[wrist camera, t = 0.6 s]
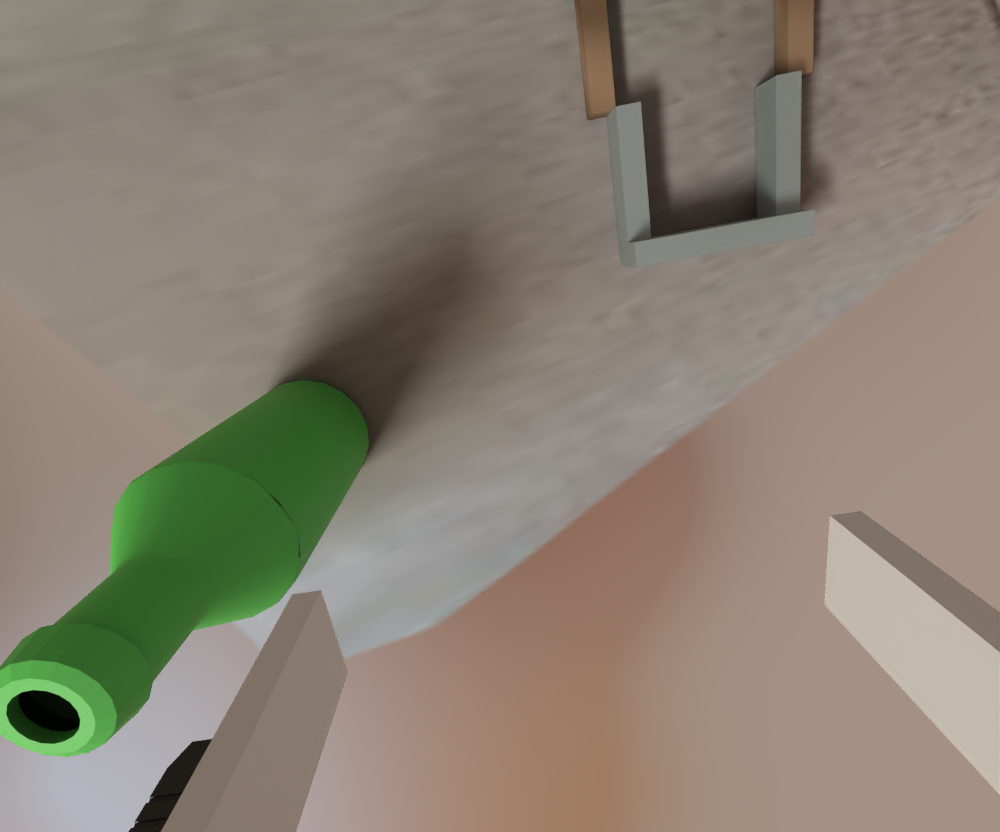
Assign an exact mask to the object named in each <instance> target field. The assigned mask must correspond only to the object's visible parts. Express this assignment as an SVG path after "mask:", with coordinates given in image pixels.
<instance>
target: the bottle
mask: <svg viewBox="0 0 1000 832" xmlns="http://www.w3.org/2000/svg"><path fill="white" fill-rule="evenodd" d="M368 447H369V438H368V429H367V424H366V422H365V420H364V418H363V416H362V414H361V412H360V410H359V408H358V407H357V406H356V405H355V404H354V403H353V402H352V401H351V400H350V399H349V398H348V397H347V396H346V395H345V394H344V393H343V392H341V391H339V390H337V389H335V388H333V387H331V386H329V385H327V384H325V383H321V382H314V381H308V380H298V381H294V382H289V383H284V384H281V385H279V386H278V387H276V388H275V389H273V390H272V391H270V392H268V393H267V394H265V395H264V396H262V397H261V398H259V399H258V400H256V401H255V402H253V403H251V404H250V405H248V406H247V407H245V408H244V409H242V410H241V411H239V412H237V413H236V414H234V415H233V416H231V417H230V418H228V419H227V420H225V421H224V422H222V423H220V424H219V425H217V426H216V427H214V428H213V429H211V430H210V431H208V432H207V433H205V434H204V435H202V436H200V437H199V438H197V439H196V440H194V441H193V442H191V443H190V444H188V445H187V446H185V447H184V448H182V449H181V450H179V451H178V452H176V453H175V454H173V455H171V456H170V457H168V458H167V459H165V460H164V461H162V462H161V463H159V464H158V465H156V466H155V467H153V468H152V469H150V470H149V471H147V472H145V473H144V474H142V475H141V476H139V477H138V478H136V479H135V480H133V481H132V482H131V483H130V484H129V486H128V487H127V489H126V490H125V492H124V494H123V495H122V497H121V498H120V500H119V502H118V503H117V504H116V506H115V509H114V518H113V526H112V535H111V558H110V576H109V577H108V578H106V579H105V580H104V581H103V582H102V583H101V584H100V585H98V586H97V587H96V588H95V589H94V590H93V591H91V592H90V593H89V594H88V595H87V596H86V597H85V598H83V599H82V600H81V601H80V602H79V603H78V604H77V605H75V606H74V607H73V608H72V609H71V610H70V611H68V612H67V613H66V614H65V615H64V616H63V617H62V618H60V619H59V620H58V621H57V622H56V623H55V624H54V625H50V626H46V627H41V628H39V629H38V630H36V631H35V632H33V633H31V634H30V635H28V636H27V637H25V638H24V639H22V641H21V642H20V643H19V644H18V646H17V647H16V648H15V649H14V651H13V652H12V653H11V654H10V655H9V657H8V658H7V659H6V660H5V661H4V663H3V664H2V665H1V666H0V734H1V735H2V736H3V737H4V738H6V739H8V740H10V741H11V742H13V743H15V744H17V745H18V746H20V747H22V748H24V749H27V750H30V751H34V752H37V753H40V754H44V755H52V756H65V757H69V756H74V755H79V754H84V753H89V752H91V751H92V750H94V749H96V748H97V747H99V746H101V745H103V744H104V743H106V742H107V741H108V740H109V739H110V738H111V737H112V736H113V735H114V734H115V733H116V732H117V731H118V730H120V729H121V728H122V726H124V725H125V724H126V723H127V722H128V721H129V720H130V719H131V718H132V717H134V716H135V715H136V714H137V713H138V712H139V710H140V709H141V708H142V707H143V705H144V704H145V703H146V702H147V700H148V699H149V696H150V692H151V688H152V683H153V681H154V680H155V678H156V677H157V676H158V675H159V673H160V672H161V670H162V669H163V668H164V667H165V665H166V664H167V663H168V662H169V660H170V659H171V658H172V656H173V655H174V654H175V652H176V651H177V650H178V649H179V647H180V646H181V645H182V643H183V642H184V641H185V640H186V638H187V637H188V636H189V634H190V633H191V632H192V631H193V630H197V629H201V628H206V627H210V626H215V625H219V624H223V623H228V622H232V621H236V620H241V619H245V618H249V617H253V616H255V615H257V614H259V613H260V612H262V611H264V610H266V609H267V608H269V607H271V606H273V605H275V604H276V603H278V602H279V601H280V600H281V598H282V597H283V596H284V595H285V593H286V592H287V591H288V590H289V588H290V587H291V586H292V584H293V583H294V582H295V581H296V579H297V578H298V576H299V574H300V572H301V571H302V569H303V567H304V566H305V564H306V562H307V560H308V559H309V557H310V555H311V554H312V552H313V550H314V548H315V547H316V545H317V543H318V541H319V540H320V538H321V536H322V535H323V533H324V531H325V529H326V528H327V526H328V524H329V523H330V521H331V519H332V517H333V516H334V514H335V512H336V511H337V509H338V507H339V505H340V504H341V502H342V500H343V498H344V497H345V495H346V493H347V491H348V490H349V488H350V486H351V484H352V483H353V481H354V479H355V477H356V476H357V474H358V472H359V470H360V469H361V467H362V465H363V464H364V462H365V458H366V454H367V451H368Z"/></svg>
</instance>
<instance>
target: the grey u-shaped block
mask: <svg viewBox="0 0 1000 832" xmlns="http://www.w3.org/2000/svg"><path fill="white" fill-rule="evenodd" d="M801 90H802V70H801V71H796V72H791V73H786V74H781V75H776V76H774V77H773V78H771V79H769V80H768V81H766V82H764V83H763V84H761V85H759V86H758V87H756V88H755V115H756V185H757V218H752V219H746V220H741V221H736V222H730V223H725V224H719V225H714V226H708V227H703V228H697V229H692V230H687V231H681V232H676V233H670V234H665V235H659V236H654V237H651V227H650V214H649V201H648V188H647V175H646V162H645V149H644V136H643V123H642V110H641V102H636V103H631V104H626V105H620V106H616V107H615V108H614V109H613V110H612V111H611V112H610V113H609V115H608V116H607V125H608V135H609V146H610V156H611V167H612V177H613V187H614V198H615V208H616V219H617V229H618V240H619V250H620V260H621V265H623V266H630V267H641V266H647V265H653V264H658V263H664V262H669V261H675V260H680V259H686V258H691V257H697V256H702V255H708V254H713V253H719V252H724V251H730V250H735V249H741V248H746V247H752V246H757V245H763V244H768V243H774V242H779V241H785V240H790V239H796V238H801V237H807V236H812V235H814V210H805V211H800V183H801Z"/></svg>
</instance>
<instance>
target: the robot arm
mask: <svg viewBox="0 0 1000 832" xmlns="http://www.w3.org/2000/svg"><path fill="white" fill-rule="evenodd" d="M825 606H826V607H827V608H828V609H829V610H830V611H831V612H832V613H833V614H834V615H835V617H836V618H837V619H838V620H839V621H840V622H841V623H842V624H843V625H844V626H845V627H846V628H847V630H848V631H849V632H850V633H851V634H852V635H853V636H854V637H855V638H856V639H857V640H858V642H859V643H860V644H861V645H862V646H863V647H864V648H865V649H866V650H867V651H868V652H869V653H870V655H871V656H873V658H874V659H875V660H876V661H877V662H878V663H879V664H880V665H881V666H882V667H883V669H884V670H885V671H886V672H887V673H888V674H889V675H890V676H891V677H892V678H893V679H894V681H895V682H896V683H897V684H898V685H899V686H900V687H901V688H902V689H903V690H904V691H905V692H906V694H907V695H908V696H909V697H910V698H911V699H912V700H913V701H914V702H915V703H916V704H917V705H918V706H919V708H920V709H921V710H922V711H923V712H924V713H925V714H926V715H927V716H928V717H929V718H930V719H931V721H932V722H933V723H934V724H935V725H936V726H937V727H938V728H939V729H940V730H941V731H942V733H944V735H945V736H946V737H947V738H948V739H949V740H950V741H951V742H952V743H953V744H954V745H955V747H956V748H957V749H958V750H959V751H960V752H961V753H962V754H963V755H964V756H965V757H966V759H967V760H968V761H969V762H970V763H971V764H972V765H973V766H974V767H975V768H976V769H977V770H978V772H979V773H980V774H981V775H982V776H983V777H984V778H985V779H986V780H987V781H988V782H989V783H990V784H991V786H992V787H993V788H994V789H995V790H996V791H997V792H998V793H999V794H1000V612H999V611H997V610H996V609H995V608H993V607H992V606H990V605H989V604H988V603H986V602H985V601H984V600H982V599H981V598H980V597H978V596H977V595H975V594H974V593H973V592H971V591H970V590H969V589H967V588H966V587H964V586H963V585H961V584H960V583H959V582H957V581H956V580H955V579H953V578H952V577H951V576H949V575H948V574H946V573H945V572H944V571H942V570H941V569H940V568H938V567H937V566H936V565H934V564H933V563H931V562H930V561H928V560H927V559H926V558H924V557H923V556H922V555H920V554H919V553H918V552H916V551H915V550H913V549H912V548H911V547H909V546H908V545H907V544H905V543H904V542H902V541H901V540H900V539H898V538H897V537H895V536H894V535H893V534H891V533H890V532H889V531H887V530H886V529H885V528H883V527H882V526H880V525H879V524H878V523H876V522H875V521H873V520H872V519H871V518H869V517H868V516H867V515H865V514H864V513H863V512H861V511H859V512H852V513H846V514H838V515H832V516H830V526H829V541H828V557H827V574H826V590H825ZM347 673H348V671H347V668H346V665H345V662H344V659H343V656H342V653H341V650H340V647H339V644H338V641H337V638H336V635H335V632H334V628H333V625H332V622H331V619H330V616H329V613H328V610H327V607H326V604H325V601H324V598H323V595H322V592H321V591H314V592H307V593H300V594H293V595H292V596H291V598H290V600H289V601H288V603H287V605H286V607H285V609H284V611H283V612H282V614H281V616H280V618H279V620H278V621H277V623H276V625H275V627H274V629H273V630H272V632H271V634H270V636H269V638H268V639H267V641H266V643H265V645H264V647H263V648H262V650H261V652H260V654H259V656H258V657H257V659H256V661H255V663H254V665H253V666H252V668H251V670H250V672H249V674H248V675H247V677H246V679H245V681H244V683H243V684H242V686H241V688H240V690H239V692H238V694H237V695H236V697H235V699H234V701H233V703H232V704H231V706H230V708H229V710H228V712H227V713H226V715H225V717H224V719H223V721H222V722H221V724H220V726H219V728H218V730H217V732H216V733H215V735H214V737H213V739H210V740H202V741H195V742H192V743H191V744H190V745H189V746H188V747H187V748H186V749H185V750H184V751H183V752H182V753H181V754H180V756H179V757H178V758H177V759H176V760H175V761H174V762H173V763H172V764H171V765H170V766H169V767H168V768H167V770H166V771H165V773H164V775H163V776H162V778H161V780H160V781H159V783H158V785H157V786H156V788H155V789H154V791H153V793H152V794H151V796H150V801H149V803H146V804H145V806H144V807H143V809H142V811H141V812H140V814H139V816H138V817H137V819H136V821H135V826H134V828H131V829H130V830H129V832H296V830H297V827H298V823H299V820H300V817H301V814H302V811H303V808H304V805H305V802H306V799H307V796H308V793H309V790H310V787H311V784H312V780H313V777H314V774H315V771H316V768H317V765H318V762H319V759H320V756H321V752H322V750H323V747H324V744H325V740H326V737H327V734H328V731H329V728H330V725H331V722H332V719H333V716H334V713H335V710H336V707H337V704H338V701H339V698H340V695H341V692H342V688H343V685H344V682H345V679H346V676H347Z"/></svg>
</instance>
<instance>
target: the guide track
mask: <svg viewBox="0 0 1000 832" xmlns="http://www.w3.org/2000/svg"><path fill="white" fill-rule="evenodd" d="M575 9H576V18H577V28H578V37H579V46H580V56H581V65H582V74H583V84H584V93H585V102H586V112H587V120H592V119H597V118H602V117H607V116H608V115H609V113H610V112H611V111H612V110H613V109H614V108H615V107H616V104H615V93H614V82H613V71H612V60H611V49H610V38H609V27H608V16H607V5H606V0H575ZM813 37H814V0H775V76H776V75H781V74H786V73H791V72H796V71H801V70H802V77H804V76H806V75H808V74H810V73H812V72H813Z"/></svg>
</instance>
